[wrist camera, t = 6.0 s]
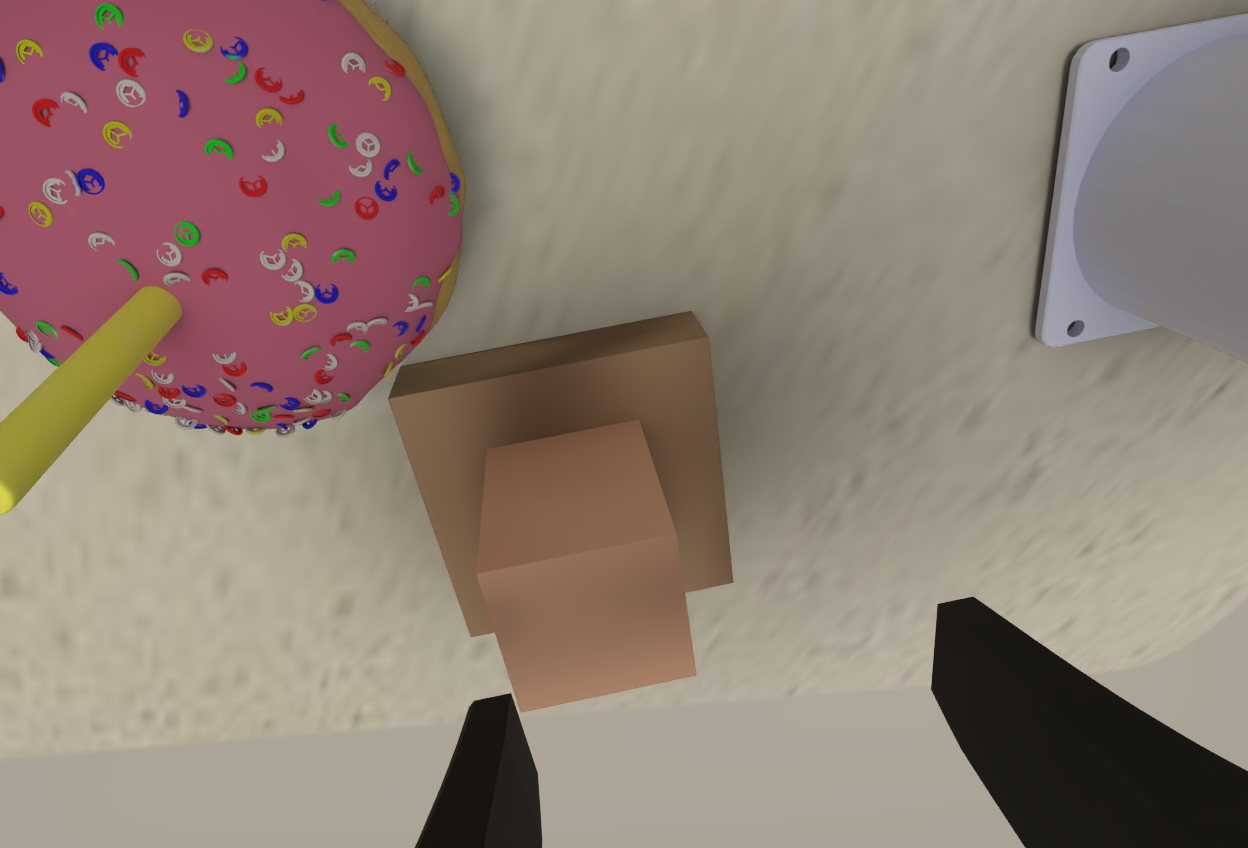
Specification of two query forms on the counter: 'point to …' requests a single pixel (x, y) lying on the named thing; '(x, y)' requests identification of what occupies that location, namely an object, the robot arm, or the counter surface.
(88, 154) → the cupcake
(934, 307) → the counter surface
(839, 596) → the counter surface
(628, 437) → the block
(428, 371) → the base
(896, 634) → the counter surface
